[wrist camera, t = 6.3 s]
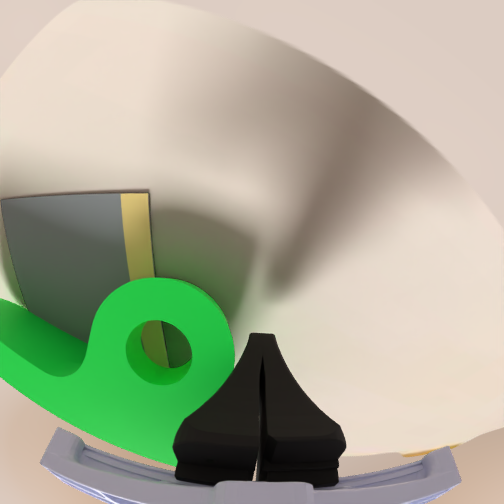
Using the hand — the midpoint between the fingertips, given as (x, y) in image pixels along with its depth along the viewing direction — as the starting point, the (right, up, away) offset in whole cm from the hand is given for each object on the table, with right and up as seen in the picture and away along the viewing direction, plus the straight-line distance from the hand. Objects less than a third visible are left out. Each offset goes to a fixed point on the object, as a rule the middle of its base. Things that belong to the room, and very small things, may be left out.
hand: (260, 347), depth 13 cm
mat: (-12, +2, +2) cm, 13 cm away
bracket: (-12, +1, +3) cm, 12 cm away
